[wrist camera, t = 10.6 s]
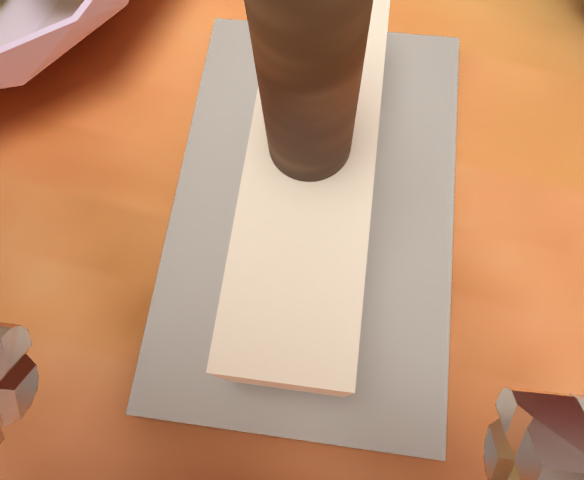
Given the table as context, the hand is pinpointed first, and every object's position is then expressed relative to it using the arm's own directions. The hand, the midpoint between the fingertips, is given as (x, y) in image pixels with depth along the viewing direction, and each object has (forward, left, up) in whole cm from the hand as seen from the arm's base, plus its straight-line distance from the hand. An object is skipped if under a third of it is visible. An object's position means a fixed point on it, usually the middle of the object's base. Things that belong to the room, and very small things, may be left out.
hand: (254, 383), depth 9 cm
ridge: (0, +9, -15) cm, 18 cm away
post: (0, +9, -8) cm, 12 cm away
